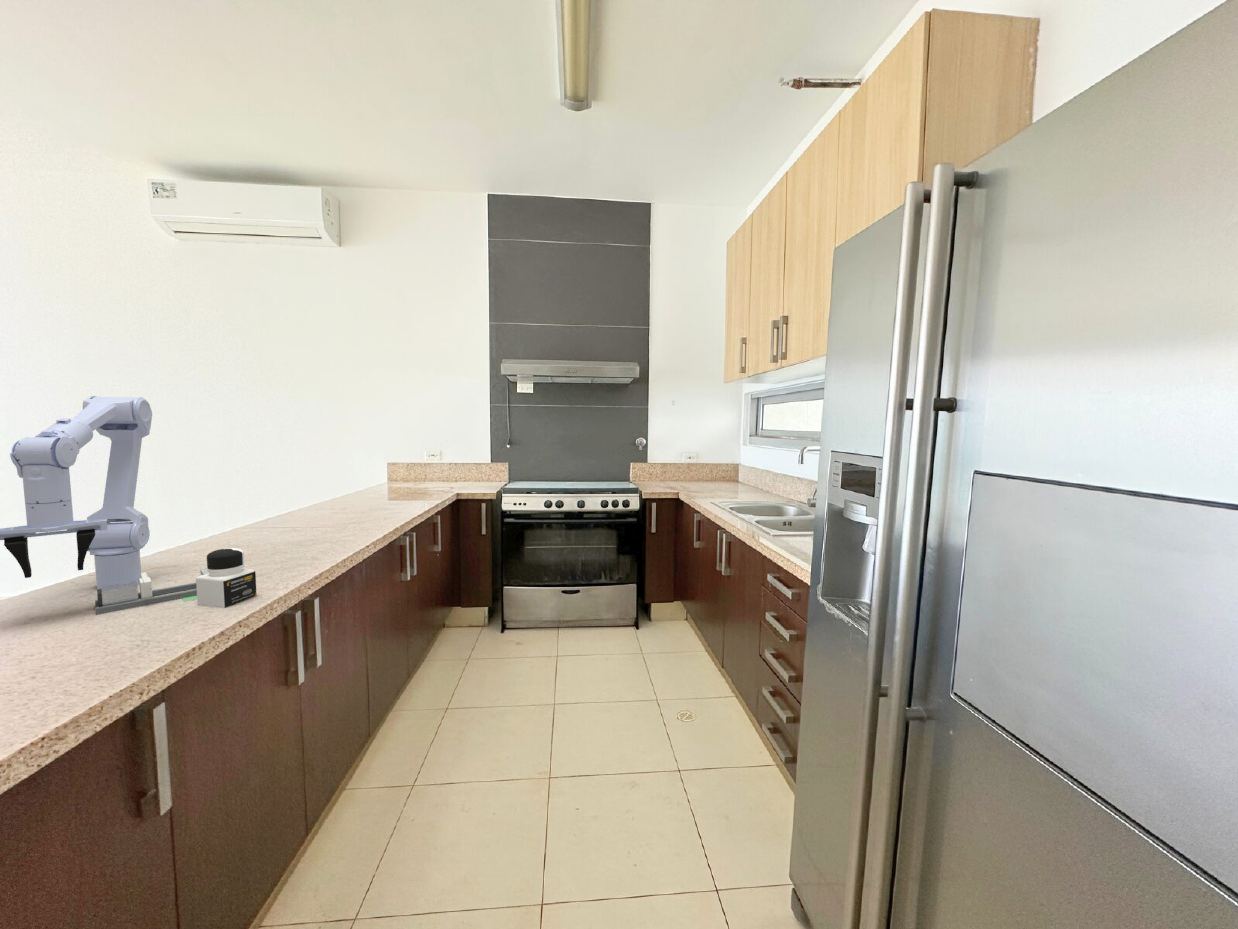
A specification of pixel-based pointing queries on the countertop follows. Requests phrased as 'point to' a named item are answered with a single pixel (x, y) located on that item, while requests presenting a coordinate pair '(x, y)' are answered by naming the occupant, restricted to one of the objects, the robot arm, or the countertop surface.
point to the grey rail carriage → (117, 594)
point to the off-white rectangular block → (145, 586)
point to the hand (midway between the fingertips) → (55, 572)
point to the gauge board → (148, 601)
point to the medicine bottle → (225, 579)
